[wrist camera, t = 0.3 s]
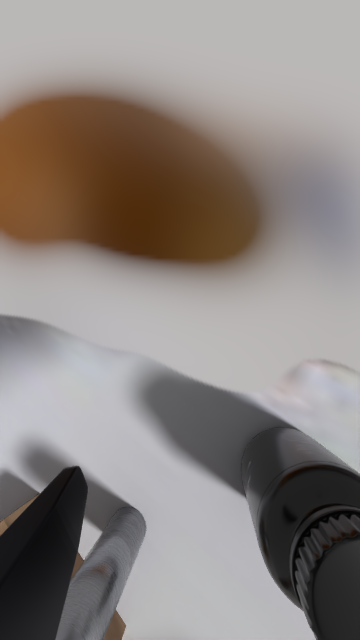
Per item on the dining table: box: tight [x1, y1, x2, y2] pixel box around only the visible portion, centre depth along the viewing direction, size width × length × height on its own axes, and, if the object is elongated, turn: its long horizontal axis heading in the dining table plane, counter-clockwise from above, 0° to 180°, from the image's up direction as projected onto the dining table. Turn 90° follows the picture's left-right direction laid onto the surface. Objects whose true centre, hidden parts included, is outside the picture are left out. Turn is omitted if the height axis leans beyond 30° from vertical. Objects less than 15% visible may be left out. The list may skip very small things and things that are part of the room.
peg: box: [56, 507, 146, 640], centre depth 16 cm, size 3×3×10 cm
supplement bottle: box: [241, 427, 360, 640], centre depth 15 cm, size 7×7×12 cm
